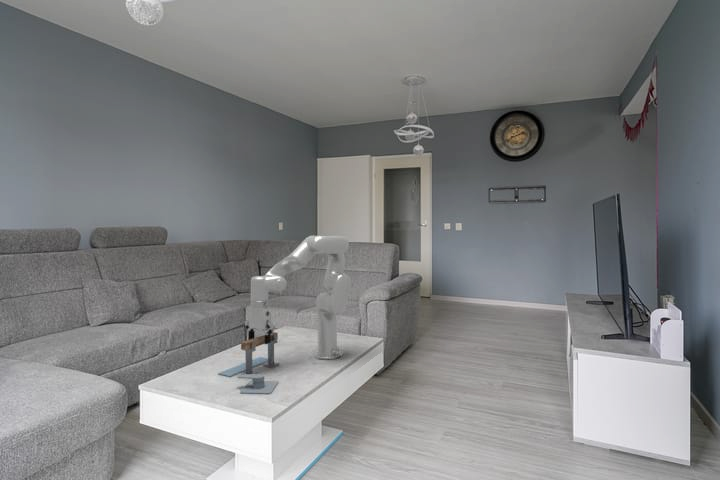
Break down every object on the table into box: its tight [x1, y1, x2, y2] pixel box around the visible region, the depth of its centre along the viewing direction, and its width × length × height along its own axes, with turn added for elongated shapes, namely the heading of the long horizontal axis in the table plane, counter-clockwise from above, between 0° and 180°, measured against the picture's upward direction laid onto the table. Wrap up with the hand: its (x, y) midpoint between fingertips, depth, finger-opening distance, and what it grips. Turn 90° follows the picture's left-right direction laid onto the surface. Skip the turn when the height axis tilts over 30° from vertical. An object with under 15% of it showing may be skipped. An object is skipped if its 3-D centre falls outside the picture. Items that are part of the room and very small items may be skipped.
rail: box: [240, 331, 279, 351], centre depth 187 cm, size 3×20×3 cm, turn 150°
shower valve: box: [237, 373, 279, 395], centre depth 167 cm, size 12×6×15 cm
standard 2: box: [262, 335, 280, 369], centre depth 193 cm, size 6×5×14 cm
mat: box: [218, 356, 268, 378], centre depth 192 cm, size 7×26×1 cm, turn 150°
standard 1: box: [240, 340, 259, 374], centre depth 181 cm, size 6×5×14 cm
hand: (259, 341), depth 187 cm, fingers open, 9 cm apart
